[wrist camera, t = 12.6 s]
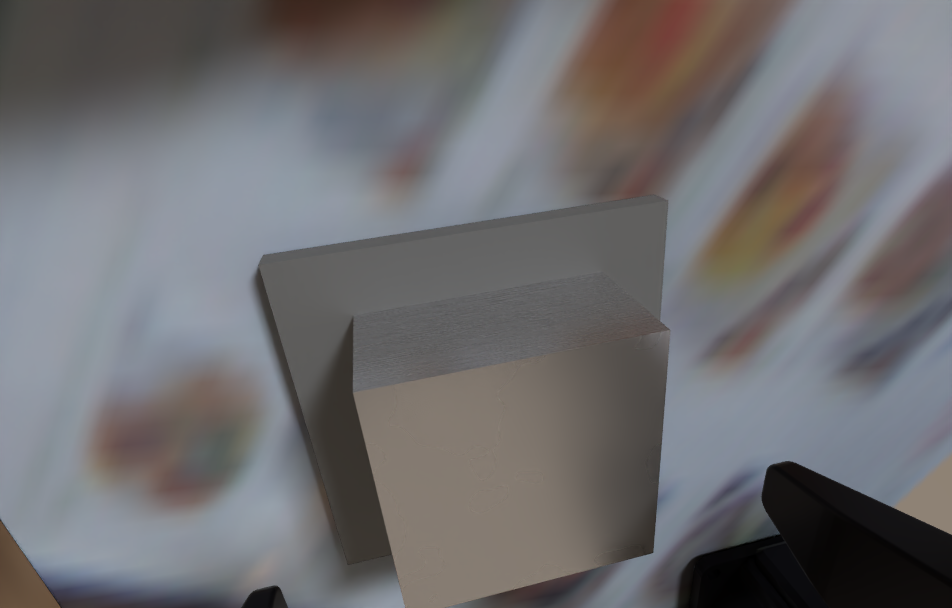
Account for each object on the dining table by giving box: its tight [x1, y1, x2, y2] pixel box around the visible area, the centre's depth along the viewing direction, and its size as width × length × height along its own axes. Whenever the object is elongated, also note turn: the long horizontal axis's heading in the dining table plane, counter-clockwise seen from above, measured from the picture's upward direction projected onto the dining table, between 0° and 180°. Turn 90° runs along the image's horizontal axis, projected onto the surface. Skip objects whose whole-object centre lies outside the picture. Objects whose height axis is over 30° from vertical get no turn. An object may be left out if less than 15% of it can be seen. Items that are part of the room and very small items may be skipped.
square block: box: [353, 272, 670, 608], centre depth 12 cm, size 6×6×3 cm
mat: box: [258, 195, 668, 565], centre depth 13 cm, size 9×9×1 cm
